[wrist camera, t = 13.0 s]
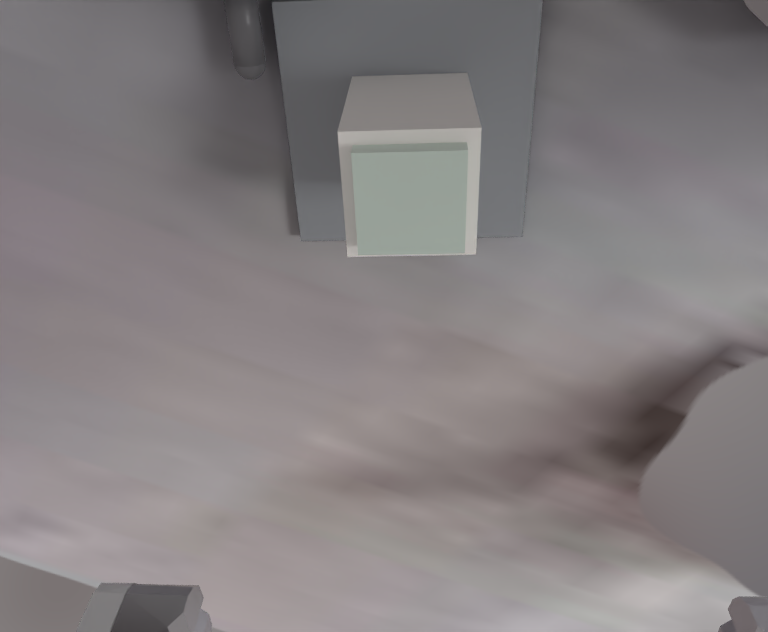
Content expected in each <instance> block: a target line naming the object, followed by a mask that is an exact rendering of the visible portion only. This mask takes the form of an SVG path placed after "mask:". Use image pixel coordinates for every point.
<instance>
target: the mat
mask: <svg viewBox="0 0 768 632" xmlns="http://www.w3.org/2000/svg"><path fill="white" fill-rule="evenodd" d="M542 5H543V0H273V1H272V11H273V19H274V27H275V35H276V43H277V51H278V59H279V67H280V75H281V84H282V92H283V100H284V108H285V116H286V124H287V132H288V140H289V148H290V157H291V165H292V173H293V181H294V189H295V197H296V205H297V213H298V222H299V230H300V238H301V241H333V240H346V232H345V220H344V207H343V195H342V182H341V170H340V158H339V145H338V133H337V131H338V128H339V124H340V120H341V116H342V113H343V109H344V105H345V101H346V98H347V94H348V90H349V86H350V83H351V79H352V76H381V75H413V74H444V73H468V77H469V81H470V85H471V89H472V93H473V97H474V100H475V104H476V108H477V112H478V116H479V120H480V123H481V127H482V130H481V153H480V176H479V199H478V222H477V238H487V237H522V236H523V224H524V213H525V201H526V190H527V178H528V167H529V155H530V144H531V132H532V120H533V109H534V97H535V86H536V74H537V63H538V51H539V39H540V28H541V16H542Z"/></svg>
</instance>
